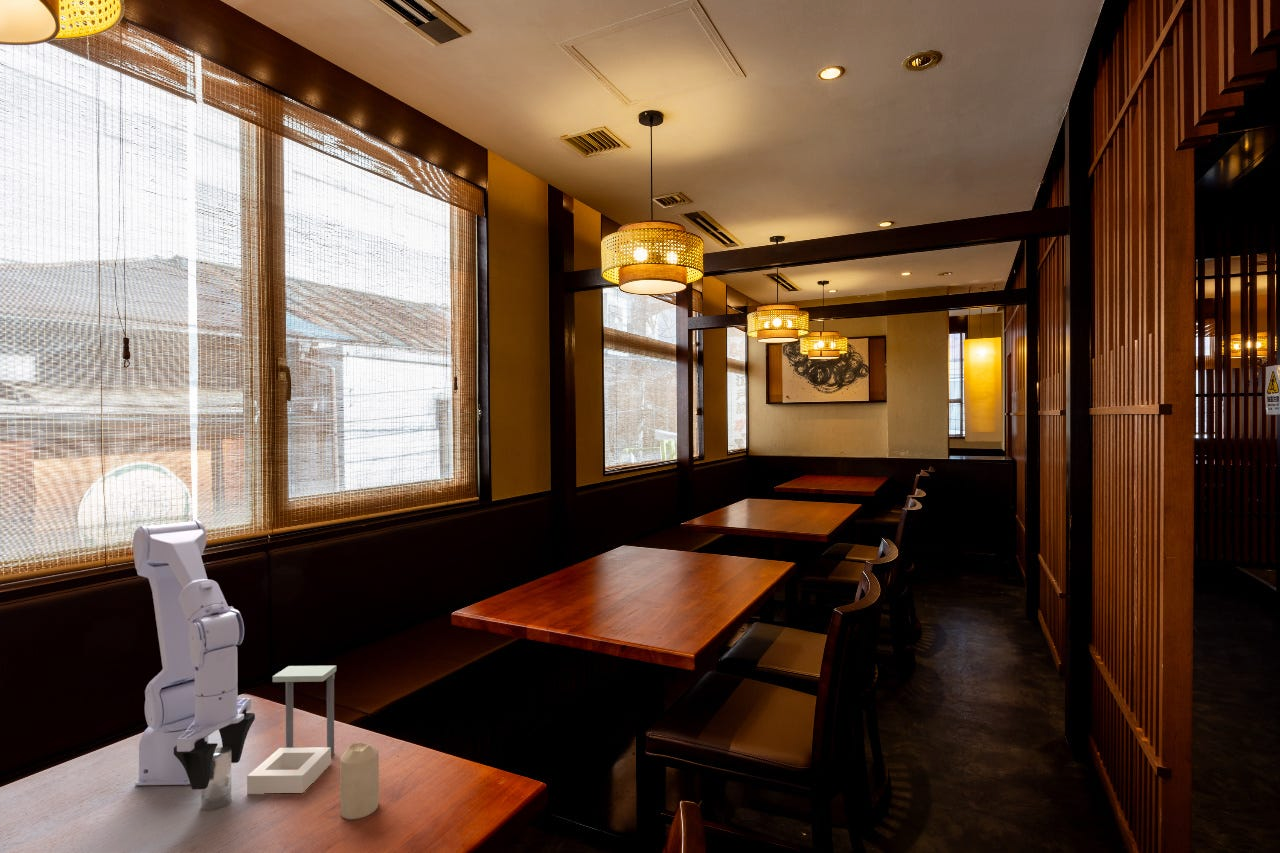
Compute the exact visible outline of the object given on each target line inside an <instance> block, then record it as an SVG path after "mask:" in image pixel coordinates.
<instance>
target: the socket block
mask: <svg viewBox="0 0 1280 853" xmlns="http://www.w3.org/2000/svg"><path fill="white" fill-rule="evenodd" d="M331 764H332V755H331V747H327V746H325V747H323V746H322V747H321V746H317V747H314V746H313V747H312V746H311V747H310V746H309V747H293V748H286V747H279V748H277V749H276V750H275V751H274V752H273V753H272V754H271V755H270V756H268V757H266V759H265V760H264V761H263V762H261V763H260V764H259V765H258V766H257V767H256V768H254V769H253V770H252V771H251V772H250V773H248V774H247V776H246V794H247V795H265V794H264V793H303V792H304V791H305V790H306V789H307V788H308V787H309V786H310V785H311V784H312V783H313V784H314V782H316V780H317V779H318V778H319V777H321V775H322V774H324V772H325V771H326V770H327V769H328V768H329V767H330V766H331ZM328 766H329V767H328ZM289 769H298V770H289ZM324 770H325V771H324ZM313 784H312V785H313ZM312 785H311V786H312ZM309 788H310V787H309ZM309 788H308V789H309ZM308 789H307V790H308ZM307 790H306V791H307ZM306 791H305V792H306ZM305 792H304V793H305ZM304 793H303V794H304Z"/></svg>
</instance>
